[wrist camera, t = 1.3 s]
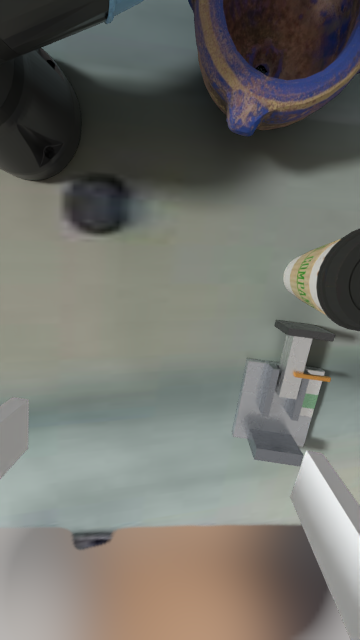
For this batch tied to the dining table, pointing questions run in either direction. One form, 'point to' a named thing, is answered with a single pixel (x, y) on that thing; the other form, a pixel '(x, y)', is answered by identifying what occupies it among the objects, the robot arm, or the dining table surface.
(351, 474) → the dining table surface
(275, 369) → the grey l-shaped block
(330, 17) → the bowl
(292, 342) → the plunger
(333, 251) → the coffee cup
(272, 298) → the dining table surface
